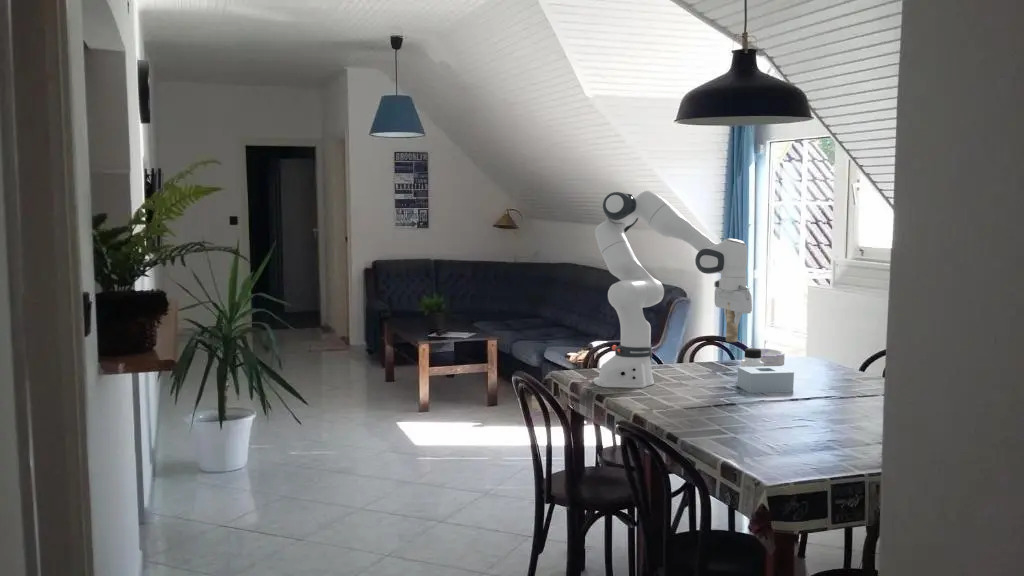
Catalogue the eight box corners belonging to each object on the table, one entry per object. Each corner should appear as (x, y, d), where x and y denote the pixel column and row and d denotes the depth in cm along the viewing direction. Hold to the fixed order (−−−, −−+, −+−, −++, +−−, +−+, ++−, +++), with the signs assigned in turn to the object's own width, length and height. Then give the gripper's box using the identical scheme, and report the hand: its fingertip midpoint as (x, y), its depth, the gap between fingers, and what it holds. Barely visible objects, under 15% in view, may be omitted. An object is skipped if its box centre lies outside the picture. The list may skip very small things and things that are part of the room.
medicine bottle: (763, 381, 331) (764, 350, 330) (744, 381, 332) (745, 350, 330) (759, 377, 339) (760, 347, 337) (740, 377, 339) (741, 346, 338)
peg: (725, 341, 314) (727, 302, 313) (726, 340, 318) (727, 301, 316) (737, 342, 313) (738, 303, 312) (737, 340, 317) (739, 302, 315)
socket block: (750, 392, 312) (751, 373, 311) (737, 385, 324) (737, 367, 323) (793, 391, 314) (793, 372, 314) (778, 384, 326) (779, 366, 325)
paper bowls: (770, 376, 342) (771, 356, 341) (737, 370, 353) (737, 351, 352) (791, 371, 352) (792, 351, 351) (758, 365, 363) (758, 346, 362)
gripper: (757, 287, 304) (755, 326, 306) (727, 281, 324) (725, 318, 325) (741, 287, 303) (739, 327, 304) (711, 281, 322) (710, 319, 324)
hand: (732, 322), depth 315 cm, fingers closed on peg, 4 cm apart
